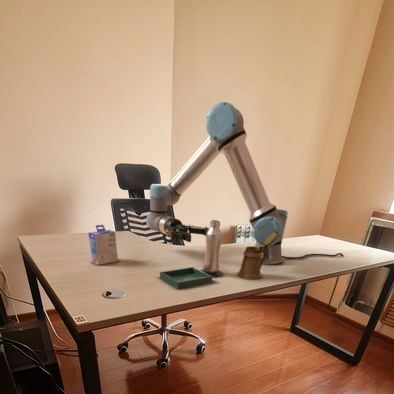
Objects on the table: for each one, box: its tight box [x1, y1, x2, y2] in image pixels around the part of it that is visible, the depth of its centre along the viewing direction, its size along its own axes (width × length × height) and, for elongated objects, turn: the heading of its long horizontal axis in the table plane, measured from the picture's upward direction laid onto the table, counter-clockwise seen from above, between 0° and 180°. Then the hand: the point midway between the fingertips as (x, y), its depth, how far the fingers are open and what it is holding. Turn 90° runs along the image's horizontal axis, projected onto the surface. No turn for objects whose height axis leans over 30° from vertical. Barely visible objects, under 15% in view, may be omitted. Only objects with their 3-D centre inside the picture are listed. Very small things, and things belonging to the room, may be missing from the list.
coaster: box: [200, 269, 223, 278], centre depth 126 cm, size 9×9×1 cm
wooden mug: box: [238, 231, 278, 280], centre depth 122 cm, size 9×14×18 cm, turn 101°
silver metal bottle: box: [202, 219, 223, 273], centre depth 120 cm, size 6×7×20 cm
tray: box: [159, 266, 213, 290], centre depth 116 cm, size 16×13×2 cm
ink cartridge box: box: [87, 224, 119, 266], centre depth 126 cm, size 10×6×14 cm, turn 137°
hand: (203, 236), depth 122 cm, fingers open, 13 cm apart
